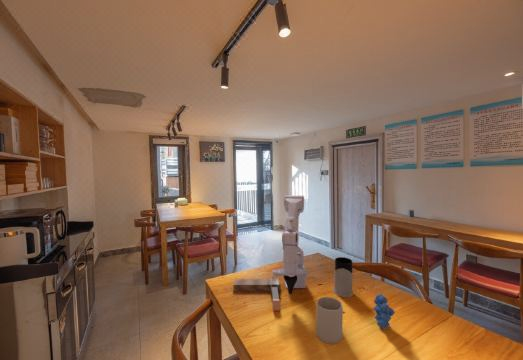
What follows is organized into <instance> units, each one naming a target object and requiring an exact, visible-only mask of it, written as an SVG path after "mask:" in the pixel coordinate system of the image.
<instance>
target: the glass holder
mask: <svg viewBox="0 0 523 360" xmlns="http://www.w3.org/2000/svg"><path fill="white" fill-rule="evenodd" d="M353 273H354V272H353V260H352V259H351V258H348V257H344V256H343V257H339V256H338V257H336V258H335V259H334V281H333V282H334V283H333V285H334V288H333V290H332V291H333V294H335V295H336V296H339V297H342V298H351V297H353V296H354V291H353V280H354V279H353V277H354V276H353V275H354V274H353Z"/></svg>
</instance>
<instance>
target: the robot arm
mask: <svg viewBox="0 0 523 360" xmlns="http://www.w3.org/2000/svg"><path fill="white" fill-rule="evenodd" d="M283 206H284V210H285V212H286V213H288V214H287V215H288V217H287V218H286V219H285V223H284V230H283V232H282V233H281V234H282V235H281V244H282V250H283V253H282V254H283V256H282V257H283V258H282V265H283V267H282V268H280V269H279V268H278V269H273V270H272V277H274V278H276V277H282V276H283V279H284V283H285V288H286V289H287V291H288V292H287V293H288V295H293V291H294V289H306V288H307V286H306V285H307V284H306V280H307V278H306V277H309V271H308V269H306V267H305V266H304V265H305V261H304V260H305V259H304V258H305V254H304V250H303V249H302V248H301V247H300V246H299V240H300V239H299V221H300V214H301V213H304V210H305V196H304V195H292V194H291V195H289V194H284V197H283Z"/></svg>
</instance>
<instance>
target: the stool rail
mask: <svg viewBox="0 0 523 360" xmlns="http://www.w3.org/2000/svg"><path fill="white" fill-rule="evenodd" d="M271 285H278V292H280V291H281V280H280V278H278V277H277V278H276V277H274V278H272V277H271V278H254V279H253V278H244V279H243V278H239V279H238V278H237V279H236V278H235V279H233V285H232V286H233V287H232V288H233V289H232V290H233V292H271Z"/></svg>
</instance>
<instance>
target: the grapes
mask: <svg viewBox="0 0 523 360" xmlns="http://www.w3.org/2000/svg"><path fill="white" fill-rule="evenodd" d="M373 302H374V304H375V306H374V307H373V310H374V312H375V313H376V314H375V316H374V318H375V320H376V321H377V322H376V324H377V325H378V327H380V329H388V328H389V326H390V324H391V323H390V320H392V317H393V316H394V314H396V312H395V310H394V309H393V308H392V307H391V306H390V305H389V304H387V303H388V302H389V300H388V298H387V297H386V296H384V295H383V294H382V293H378V294H377V295H375V297H374V299H373Z"/></svg>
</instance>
